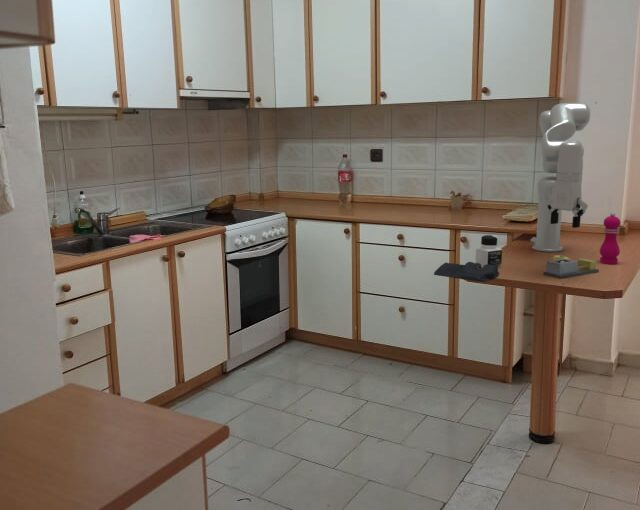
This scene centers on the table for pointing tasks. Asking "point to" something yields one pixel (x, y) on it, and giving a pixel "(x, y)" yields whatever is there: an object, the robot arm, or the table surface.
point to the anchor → (560, 257)
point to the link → (561, 266)
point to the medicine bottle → (489, 251)
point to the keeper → (578, 269)
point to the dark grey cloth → (468, 271)
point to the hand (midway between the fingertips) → (564, 225)
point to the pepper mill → (610, 240)
